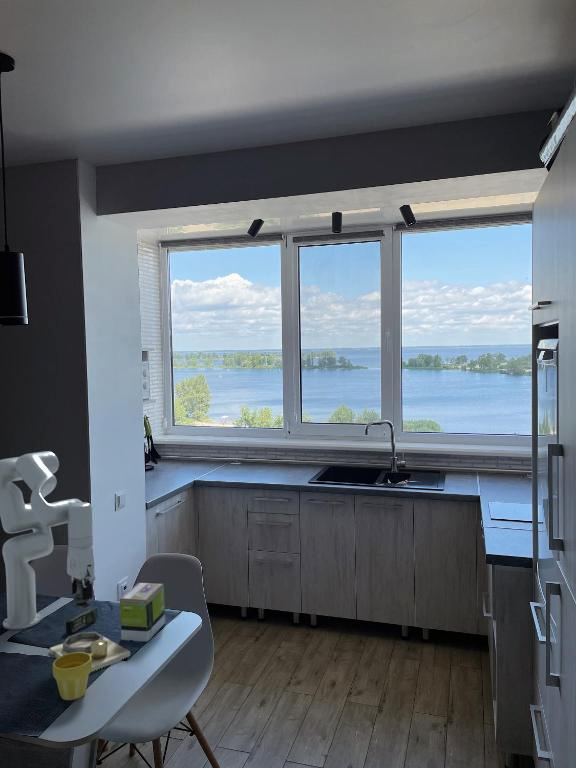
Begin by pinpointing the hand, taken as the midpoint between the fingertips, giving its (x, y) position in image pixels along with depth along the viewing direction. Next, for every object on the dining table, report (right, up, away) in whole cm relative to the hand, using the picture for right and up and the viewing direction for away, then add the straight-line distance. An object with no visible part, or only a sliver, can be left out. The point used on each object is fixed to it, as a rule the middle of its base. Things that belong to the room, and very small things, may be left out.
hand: (82, 595), depth 194 cm
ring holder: (0, -17, +1) cm, 17 cm away
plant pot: (+6, -19, -25) cm, 32 cm away
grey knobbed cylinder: (0, -3, 0) cm, 3 cm away
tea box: (+17, -18, +14) cm, 28 cm away
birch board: (+3, -18, -2) cm, 19 cm away
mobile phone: (-6, -18, +20) cm, 27 cm away
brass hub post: (+8, -17, -6) cm, 19 cm away
